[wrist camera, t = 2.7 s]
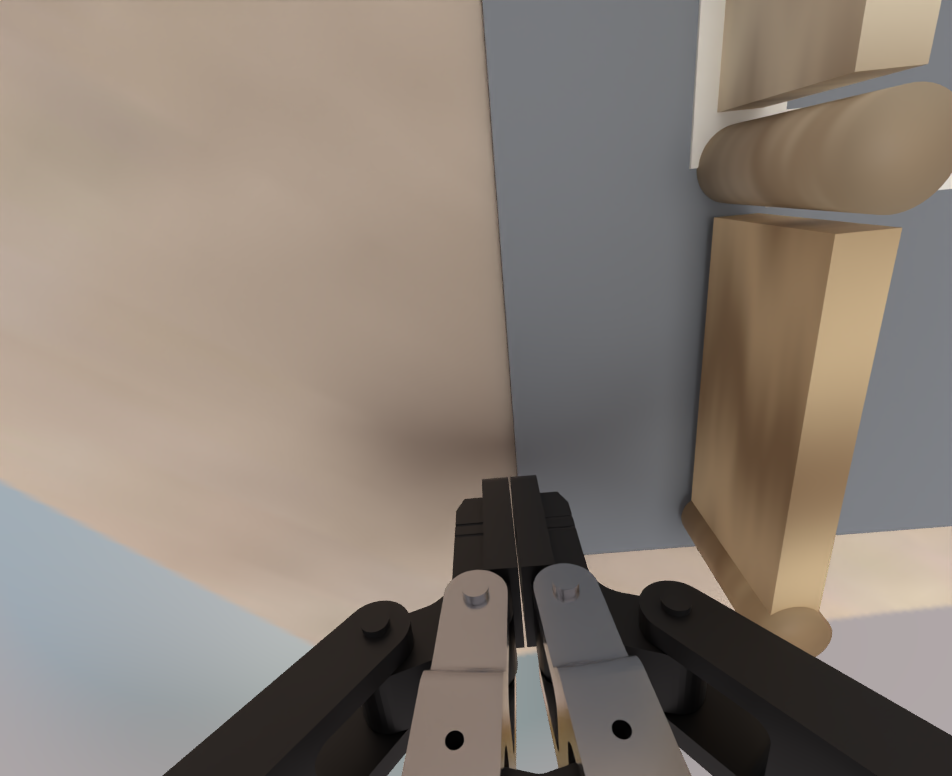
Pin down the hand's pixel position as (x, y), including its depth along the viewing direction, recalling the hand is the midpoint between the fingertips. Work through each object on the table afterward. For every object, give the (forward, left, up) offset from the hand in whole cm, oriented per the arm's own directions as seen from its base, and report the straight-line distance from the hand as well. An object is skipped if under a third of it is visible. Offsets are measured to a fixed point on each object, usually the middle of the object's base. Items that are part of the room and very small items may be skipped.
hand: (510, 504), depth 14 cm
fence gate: (-1, +7, -3) cm, 8 cm away
